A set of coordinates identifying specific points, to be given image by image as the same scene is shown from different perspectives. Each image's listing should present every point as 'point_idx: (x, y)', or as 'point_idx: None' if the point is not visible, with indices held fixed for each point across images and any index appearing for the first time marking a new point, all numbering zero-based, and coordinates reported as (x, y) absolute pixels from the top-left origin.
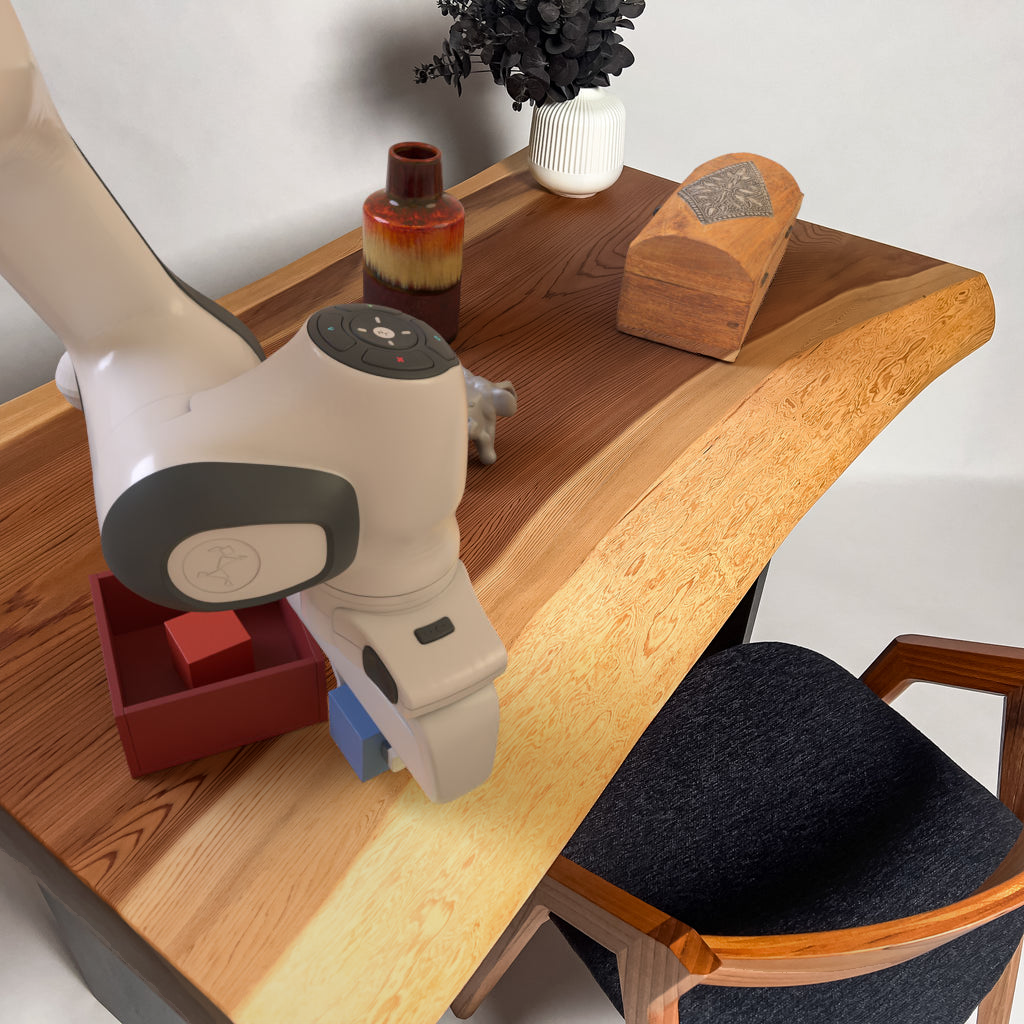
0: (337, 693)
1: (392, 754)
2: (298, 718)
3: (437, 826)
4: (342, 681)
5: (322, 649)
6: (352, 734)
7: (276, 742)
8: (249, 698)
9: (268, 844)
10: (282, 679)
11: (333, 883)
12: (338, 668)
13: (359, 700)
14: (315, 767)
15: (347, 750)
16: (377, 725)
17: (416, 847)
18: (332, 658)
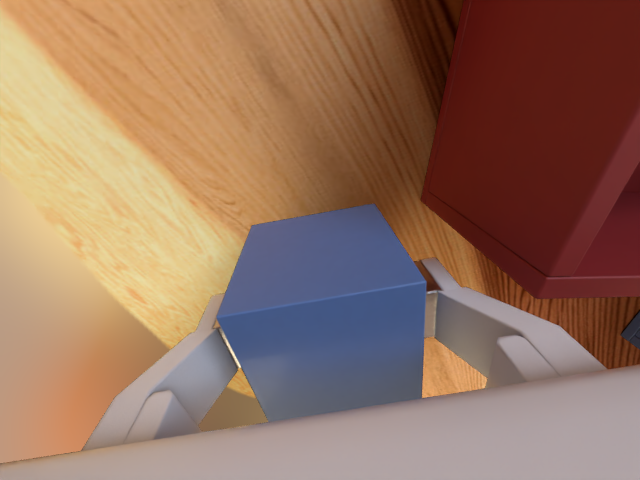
0: (405, 300)
1: (184, 345)
2: (444, 157)
3: (194, 279)
4: (445, 300)
5: (606, 387)
6: (277, 282)
7: (427, 102)
8: (575, 26)
9: (216, 11)
10: (565, 159)
11: (115, 114)
12: (461, 453)
13: (263, 447)
14: (347, 154)
15: (305, 230)
16: (112, 472)
17: (166, 248)
18: (535, 456)
